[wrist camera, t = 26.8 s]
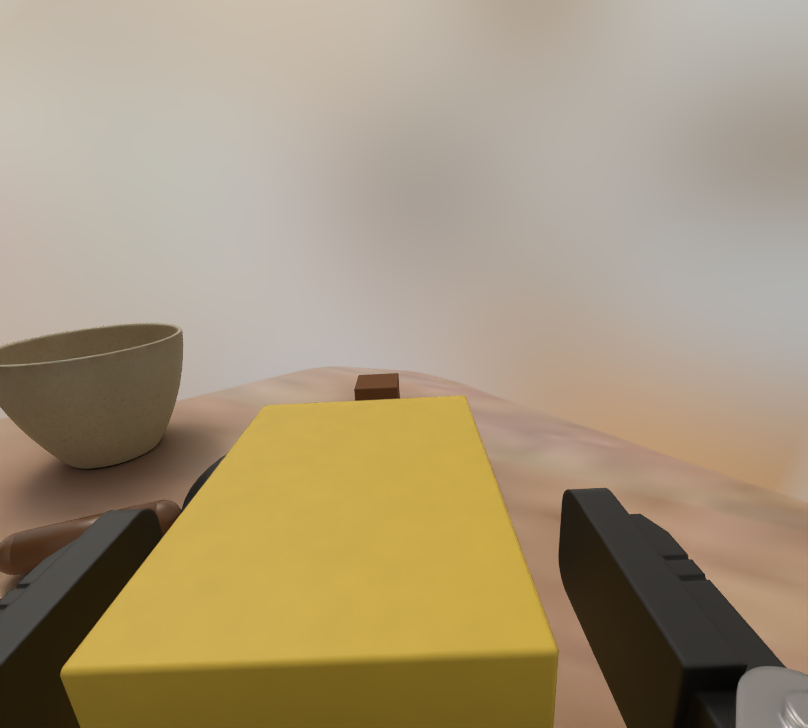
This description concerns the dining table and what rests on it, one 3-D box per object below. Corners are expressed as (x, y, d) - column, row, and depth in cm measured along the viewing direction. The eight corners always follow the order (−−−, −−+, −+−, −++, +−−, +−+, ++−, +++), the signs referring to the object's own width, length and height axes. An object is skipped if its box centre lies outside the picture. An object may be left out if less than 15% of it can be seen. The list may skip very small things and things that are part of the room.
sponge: (231, 1119, 7) (54, 673, 4) (311, 701, 12) (263, 404, 10) (527, 1111, 6) (561, 651, 4) (469, 695, 12) (465, 394, 9)
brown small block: (356, 415, 31) (354, 389, 30) (360, 399, 34) (358, 374, 33) (399, 413, 31) (397, 387, 30) (399, 397, 34) (398, 373, 33)
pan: (-127, 774, 11) (-158, 724, 11) (66, 487, 24) (56, 457, 23) (549, 545, 18) (551, 507, 17) (418, 415, 30) (417, 391, 30)
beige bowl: (204, 463, 25) (178, 344, 23) (-17, 516, 21) (-72, 379, 19) (202, 405, 34) (183, 315, 32) (45, 435, 30) (12, 335, 28)
